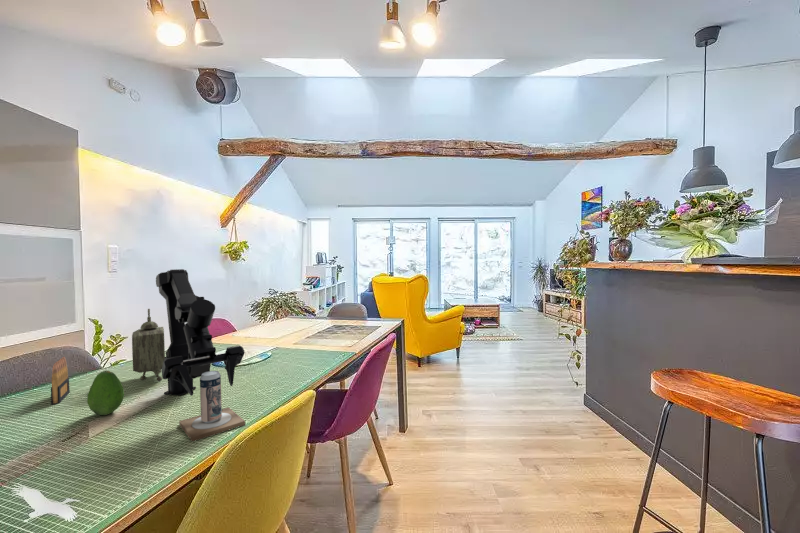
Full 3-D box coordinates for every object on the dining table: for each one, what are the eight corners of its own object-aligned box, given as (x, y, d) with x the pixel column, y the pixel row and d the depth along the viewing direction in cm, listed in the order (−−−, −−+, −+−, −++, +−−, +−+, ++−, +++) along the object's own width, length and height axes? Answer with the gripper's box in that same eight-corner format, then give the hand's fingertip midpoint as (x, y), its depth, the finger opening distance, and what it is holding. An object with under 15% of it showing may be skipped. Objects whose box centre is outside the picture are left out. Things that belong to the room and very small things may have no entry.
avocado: (100, 421, 96) (98, 376, 96) (81, 417, 99) (79, 373, 98) (131, 409, 103) (130, 367, 103) (113, 406, 106) (111, 365, 106)
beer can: (212, 425, 90) (211, 376, 90) (196, 423, 91) (195, 375, 91) (226, 416, 95) (225, 370, 95) (210, 415, 96) (209, 369, 96)
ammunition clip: (59, 403, 109) (57, 363, 109) (51, 404, 108) (49, 364, 108) (69, 392, 118) (68, 355, 118) (62, 393, 117) (60, 356, 117)
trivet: (179, 424, 93) (179, 420, 93) (228, 410, 102) (228, 406, 102) (192, 441, 85) (192, 436, 85) (245, 424, 93) (244, 420, 93)
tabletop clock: (165, 381, 127) (163, 309, 126) (133, 387, 122) (130, 312, 121) (164, 371, 139) (162, 305, 138) (134, 376, 134) (132, 307, 133)
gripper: (228, 350, 110) (242, 396, 102) (154, 363, 97) (165, 416, 90) (237, 327, 104) (253, 374, 97) (159, 338, 92) (171, 393, 84)
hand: (212, 389), depth 92 cm, fingers open, 9 cm apart
